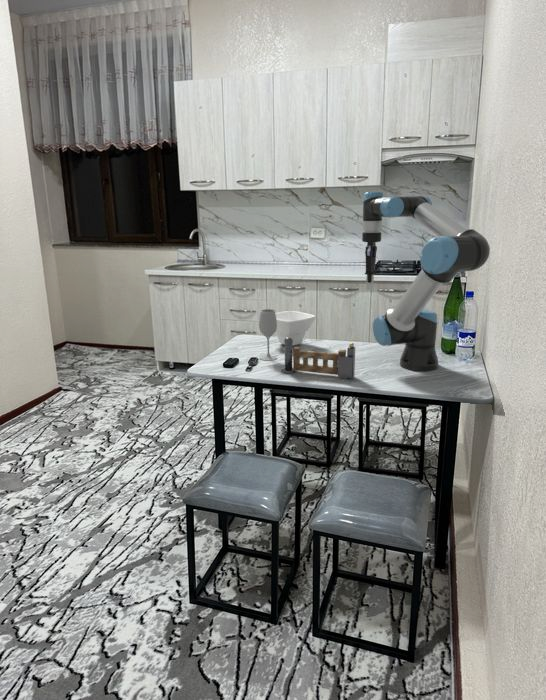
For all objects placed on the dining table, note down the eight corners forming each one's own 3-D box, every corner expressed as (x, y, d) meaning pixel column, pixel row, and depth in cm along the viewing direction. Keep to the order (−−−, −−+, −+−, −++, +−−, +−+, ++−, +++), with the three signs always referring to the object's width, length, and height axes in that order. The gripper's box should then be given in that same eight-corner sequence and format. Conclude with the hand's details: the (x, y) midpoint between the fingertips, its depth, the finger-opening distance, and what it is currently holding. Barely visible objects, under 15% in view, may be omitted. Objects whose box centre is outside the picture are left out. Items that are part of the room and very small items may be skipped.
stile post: (354, 376, 201) (355, 342, 197) (351, 380, 196) (352, 345, 193) (340, 375, 202) (341, 341, 199) (337, 379, 198) (338, 344, 195)
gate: (293, 370, 206) (293, 347, 203) (295, 368, 208) (295, 345, 206) (343, 375, 199) (344, 351, 196) (345, 373, 201) (345, 350, 199)
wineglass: (275, 361, 221) (274, 312, 215) (257, 360, 223) (256, 312, 217) (278, 356, 228) (278, 309, 222) (261, 355, 230) (260, 308, 224)
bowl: (291, 337, 259) (291, 309, 255) (319, 345, 245) (319, 316, 241) (262, 344, 248) (261, 315, 244) (289, 352, 234) (289, 322, 230)
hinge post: (298, 369, 210) (298, 336, 206) (293, 374, 204) (293, 339, 201) (284, 368, 212) (283, 334, 208) (279, 372, 206) (278, 338, 203)
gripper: (365, 230, 217) (363, 287, 223) (359, 232, 205) (357, 292, 212) (383, 230, 214) (381, 287, 221) (378, 232, 203) (375, 293, 209)
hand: (369, 289), depth 216 cm, fingers closed
